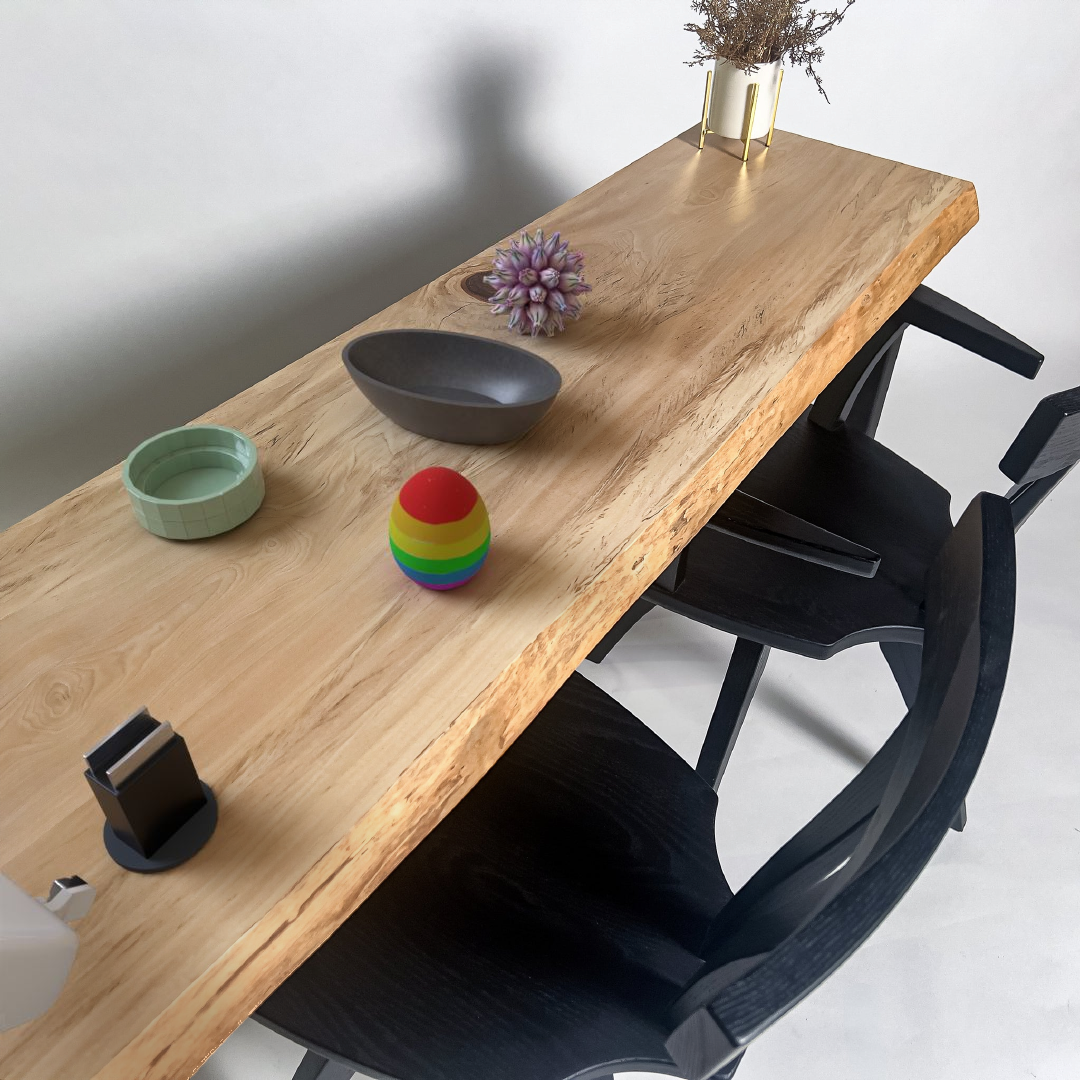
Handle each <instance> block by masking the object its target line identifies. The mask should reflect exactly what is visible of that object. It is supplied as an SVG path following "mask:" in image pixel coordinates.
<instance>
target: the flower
mask: <svg viewBox="0 0 1080 1080" xmlns="http://www.w3.org/2000/svg"><path fill="white" fill-rule="evenodd" d="M519 236H520V238H519V242H517V240H515V239H514V238H513V237H511V238H510V240H508V242H509V244H510V249H509V250H505V249H501V248H499V246H495V247H494V249H493V253H494V254H495V255H496V256H497V258H498V259H496V258H493V259H492V260H491V264H492V265H493V266H495V267H496V268H497V269H495V268H494V269H492V271H491V274H490V275H487V276H486V275H485V276H483V279H482V280H483V281H482V283H485V284H488V285H490V286H491V287H492V288H493V289H494V290H496V291H497V292H496V293H495V294H494V295H493V296H492V297H489V298H488V299H487V300H488V303H489V304H490V305H491V306H492V305H495V306H494V307H493V308H492V309H490V313H491V315H492V316H493V318H497V317H498V316H509V324H508V325H507V329H508V332H512V331H514V329H515V328H516V327H517V326H518V329H517V333H518V334H520V335H523V333H524V331H525V330H526V329H527V328H528V329H529V332H530V335H531V336H530V337H531V338H530V339H531V340H536V339H538V335H539V332H540V330H541V329H543V330H544V331H545V333H546V335H547V337H548V338H552V336H553V337H554V336H555V331H554V330H555V328H557V329H558V330H559V331H560V332H565V327H564V324H563V320H564V319H565V318H571V319H573V320H575V321H579V318H580V316H581V315H580V314H581V313H583V311H584V310H585V307H584V305H582V304H580V302H579V299H578V298H577V297H579V296H581V294H583V293H591V292H593V289H592V288H593V285H592V284H588V283H585V281H586V280H585V277H584V276H583V275H578V274H579V273H580V271H581V270H583V269H584V268H585V264H584V262H582V261H583V260H584V259H585V258H586V257H585V255H584V253H583V252H582V251H579V252H577V253H574V254H571V251H570V250H569V248H568V246H569V244H570V240H567V239H564V240H563V241H562V243H560V238H561V231H554V233H553V235H552V237H550V239H549V240H547V239H546V237H545V230H544V229H543V228H537V230H536V233H535V236H534V238H532V237H531V235H530V234H529V231H528V230H527V229H522V230H520V231H519Z"/></svg>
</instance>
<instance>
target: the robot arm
mask: <svg viewBox="0 0 1080 1080" xmlns="http://www.w3.org/2000/svg"><path fill="white" fill-rule="evenodd" d="M97 893H98V890H97V888H96V887H94V886H93V885H91V884H90V883H88V882H87V881H85V880H84V879H83V878H81V877H80V876H79V875H77V874H73V875H71V876H70V877H60V878H57V879H54V880H53V882H52V885H51V887H50V889H49V897H47V898H45V897H44V896H41V895H38V896H35V897H34V896H32V894H31V893H29V892H28V891H27V890H25V889H24V888H23V887H22V886H21V885H19V884H18V883H17V882H16V881H14V879H12V878H11V877H10V876H8V875H7V874H6V873H4V872H3V871H2V870H1V869H0V1034H3V1033H5V1032H9V1031H11V1030H13V1029H16V1028H17V1027H20V1026H23V1025H25V1024H27V1023H30V1022H32V1021H34V1020H37V1019H38V1018H40V1017H42V1016H44V1015H45V1014H46V1013H48V1012H49V1011H50V1010H51V1008H52V1007H53V1006H54V1005H55V1003H57V1000H58V999H59V997H60V995H61V994H62V992H63V990H64V987H65V986H66V983H67V980H68V978H69V977H70V974H71V971H72V969H73V966H74V964H75V961H76V957H77V953H78V950H79V947H80V942H81V939H80V934H79V933H78V932H77V931H76V930H75V929H74V928H73V927H72V926H71V925H69V923H72V922H76V921H79V920H82V919H84V918H85V917H86V916H87V915H88V914H89V912H90V910H91V909H92V907H93V905H94V901H95V900H96V897H97Z"/></svg>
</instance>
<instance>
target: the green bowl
mask: <svg viewBox="0 0 1080 1080" xmlns="http://www.w3.org/2000/svg"><path fill="white" fill-rule="evenodd" d="M121 470H122V471H121V481H122V485H123V487H124V490H125V492H126V495H127V498H128V501H129V504H130V506H131V510H132V513H133V515H134V517H135V518H136V521H137V523H138V524H139V526H141V527H142V528H144V529H145V530H147V532H149V533H151V534H153V535H156V536H160V537H163V538H165V539H172V540H196V539H202V538H210V537H213V536H216V535H219V534H222V533H224V532H225V533H226V532H228V531H231V530H232V529H234V528H236V527H238V526H239V525H241V524H243V523H244V522H245V521H247V520H249V519H250V518H251V517H252V516H253V515H254V513H255V512H257V511H258V509H259V508H260V507H261V505H262V502H263V500H264V497H265V496H266V486H265V479H264V474H263V469H262V465H261V460H260V455H259V451H258V447H257V446H256V444H255V443H254V442H253V440H252V439H251V437H250V436H248V435H246V434H244V433H243V432H241V431H240V430H238V429H237V428H236V429H235V428H232V427H229V426H225V425H221V424H206V423H205V424H204V423H201V424H193V425H192V424H191V425H182V426H179V427H175V428H172V429H169V430H166V431H162V432H159V433H158V434H156V435H154V436H152V437H150V438H148V439H146V440H144V441H143V442H142V443H141V444H139V445H138V446H136V448H134V449H133V450H132V451H131V452H130V453H129V454H128V456H127V458H126V460H125V461H124V463H123V464H122V469H121Z"/></svg>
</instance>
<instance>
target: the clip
mask: <svg viewBox="0 0 1080 1080" xmlns="http://www.w3.org/2000/svg"><path fill="white" fill-rule="evenodd" d="M82 757H83V759H84V761H85V762H86V765H87V767H88V768H87V769H86V770H85V771H83V775H84V777H85V780H86V781H87V783H88V785H89V787H90V789H91V791H92V793H93V795H94V797H95V799H96V800H97V802H98V805H99V807H100V808H101V811H102V812H103V814H104V816H105V819H106V818H107V820H108V822H109V824H110V826H111V828H112V830H113V832H114V834H115V836H116V837H117V838H119V839H120V840H121V841H123V842H124V843H125V844H127V845H128V846H129V847H131V848H132V849H133V850H135V851H136V852H137V853H139V854H140V855H142V856H143V857H144V858H146V859H149V858H150V857H151V856H152V855H153V854H154V853H155V852H156V851H157V850H158V849H159V848H160V847H161V846H162V845H163V844H164V843H166V842H167V841H168V840H169V839H170V838H171V837H172V836H173V835H174V834H175V833H176V832H177V831H178V830H179V829H180V828H181V827H182V826H183V825H184V824H185V823H186V822H187V821H188V820H189V819H191V818H192V817H193V816H194V815H195V814H196V813H197V812H198V811H199V810H200V809H201V808H202V807H203V806H204V805H205V804H206V803H207V802H208V801H207V798H206V795H205V793H204V790H203V788H202V785H201V782H200V780H201V779H200V777H199V774H198V771H197V769H196V767H195V764H194V761H193V758H192V757H191V753H190V750H189V748H188V745H187V743H186V740H185V737H183V736H182V735H181V734H179V733H178V732H176V731H174V729H173V727H172V724H171V722H170V721H169V720H168V719H166V720H164V722H161V721H160V720H158V719H156V718H155V717H153V716H151V714H150V711H149V709H148V706H146V705H145V704H143V705H142V706H141V707H139V708H138V709H137V710H136V711H135V712H133V713H132V714H131V715H130V716H129V717H127V718H126V719H125V720H124V721H122V722H121V723H120V724H119V725H118V726H116V727H115V728H114V729H113V730H112V731H111V732H109V733H108V734H107V735H106V736H105V737H103V738H102V739H101V740H100V741H98V742H97V743H96V744H95V745H94V746H92V747H91V748H90V749H89V750H87V752H85V753H84V754H83V755H82ZM199 779H200V780H199Z"/></svg>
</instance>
